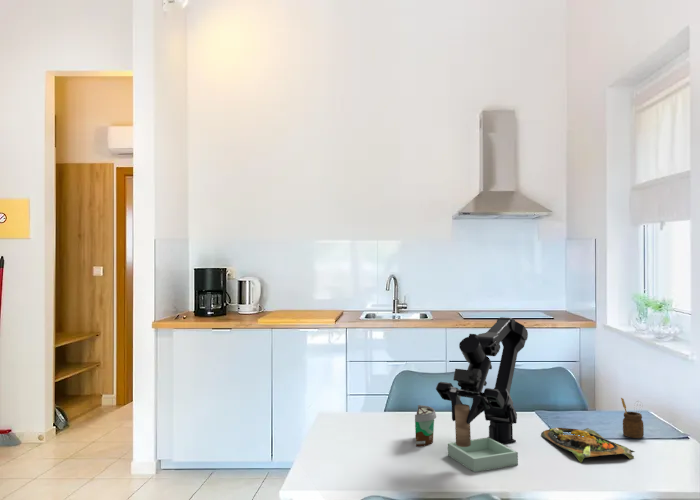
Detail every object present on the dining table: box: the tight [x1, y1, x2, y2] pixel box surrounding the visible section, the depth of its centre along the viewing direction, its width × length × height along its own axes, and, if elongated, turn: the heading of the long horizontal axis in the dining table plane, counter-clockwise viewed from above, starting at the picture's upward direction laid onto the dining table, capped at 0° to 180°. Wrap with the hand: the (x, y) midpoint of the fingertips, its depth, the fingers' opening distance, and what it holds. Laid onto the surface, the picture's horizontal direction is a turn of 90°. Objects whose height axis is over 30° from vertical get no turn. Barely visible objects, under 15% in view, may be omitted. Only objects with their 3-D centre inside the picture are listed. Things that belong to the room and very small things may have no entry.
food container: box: [414, 404, 437, 448], centre depth 174 cm, size 12×6×10 cm, turn 168°
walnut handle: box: [454, 403, 472, 447], centre depth 152 cm, size 4×4×10 cm
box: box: [447, 436, 519, 473], centre depth 157 cm, size 14×14×4 cm
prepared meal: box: [540, 427, 636, 464], centre depth 168 cm, size 28×4×18 cm
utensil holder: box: [620, 397, 645, 439], centre depth 176 cm, size 6×6×12 cm
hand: (460, 421), depth 151 cm, fingers closed on walnut handle, 4 cm apart
